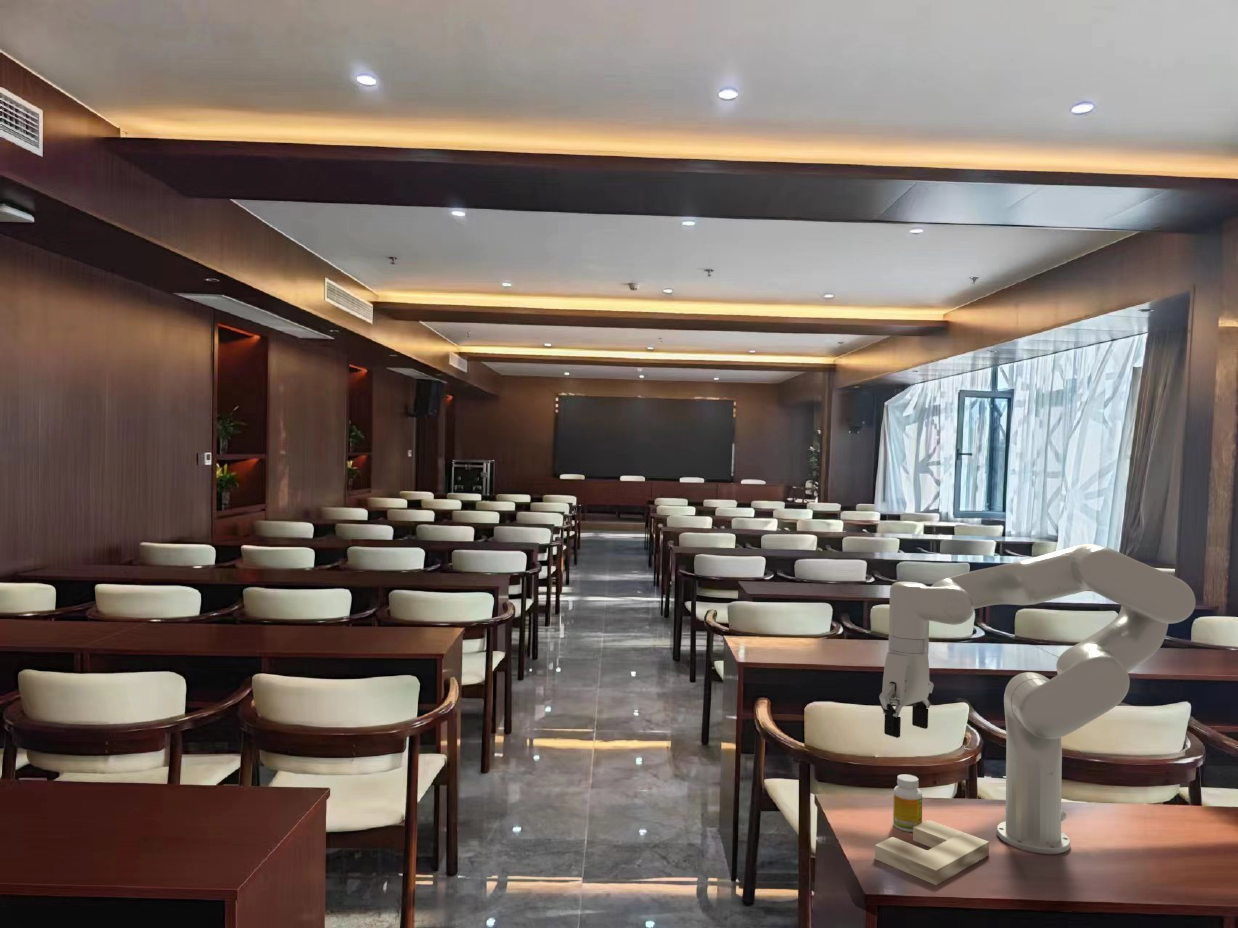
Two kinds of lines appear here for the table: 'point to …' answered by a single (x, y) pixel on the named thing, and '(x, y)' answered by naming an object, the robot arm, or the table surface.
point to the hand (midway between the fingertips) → (906, 731)
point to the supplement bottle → (907, 803)
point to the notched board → (933, 852)
